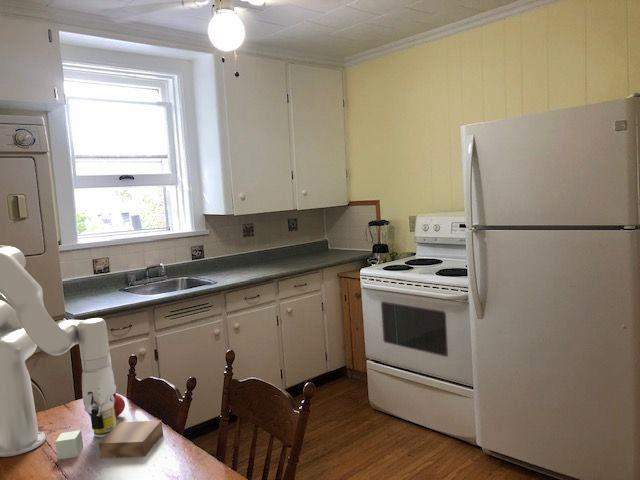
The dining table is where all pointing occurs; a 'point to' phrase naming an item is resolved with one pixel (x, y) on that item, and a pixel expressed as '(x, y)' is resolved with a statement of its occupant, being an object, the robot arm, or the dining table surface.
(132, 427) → the walnut block
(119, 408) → the onion
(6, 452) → the robot arm
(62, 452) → the sage cube
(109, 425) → the pill bottle
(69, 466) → the dining table surface
